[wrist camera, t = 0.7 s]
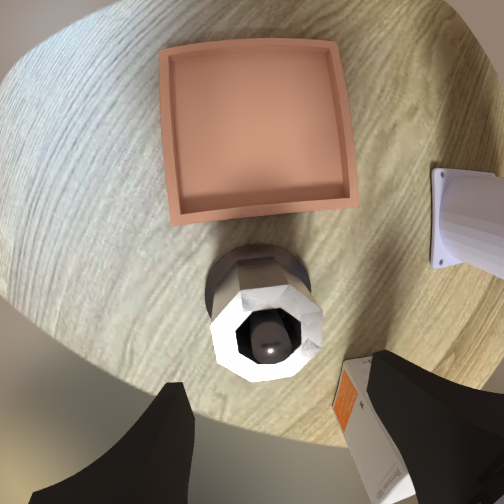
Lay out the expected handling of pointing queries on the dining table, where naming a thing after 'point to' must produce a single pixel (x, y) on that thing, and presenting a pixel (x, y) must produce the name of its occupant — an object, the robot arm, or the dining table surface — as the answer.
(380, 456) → the skincare box
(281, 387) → the dining table surface
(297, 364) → the octagonal pencil cup
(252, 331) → the stand
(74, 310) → the dining table surface
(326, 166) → the tray
